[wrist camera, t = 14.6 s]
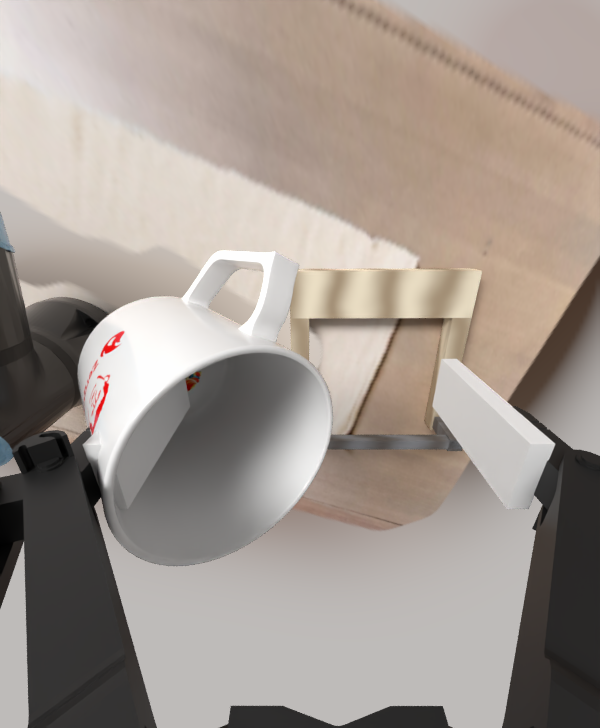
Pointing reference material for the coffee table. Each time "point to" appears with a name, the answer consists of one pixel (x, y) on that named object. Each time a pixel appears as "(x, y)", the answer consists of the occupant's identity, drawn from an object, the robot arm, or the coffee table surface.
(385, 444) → the beige and grey frame
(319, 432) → the mug
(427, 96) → the coffee table surface
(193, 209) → the coffee table surface
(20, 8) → the coffee table surface
